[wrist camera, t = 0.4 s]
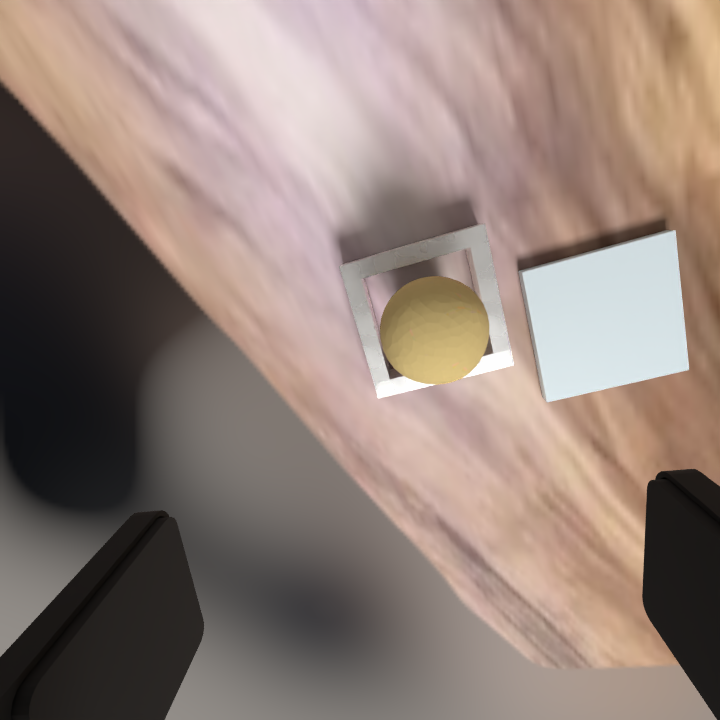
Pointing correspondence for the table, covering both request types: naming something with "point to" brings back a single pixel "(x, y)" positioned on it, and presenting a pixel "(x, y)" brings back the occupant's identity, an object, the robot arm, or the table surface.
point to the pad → (607, 316)
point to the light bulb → (434, 330)
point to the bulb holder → (465, 238)
